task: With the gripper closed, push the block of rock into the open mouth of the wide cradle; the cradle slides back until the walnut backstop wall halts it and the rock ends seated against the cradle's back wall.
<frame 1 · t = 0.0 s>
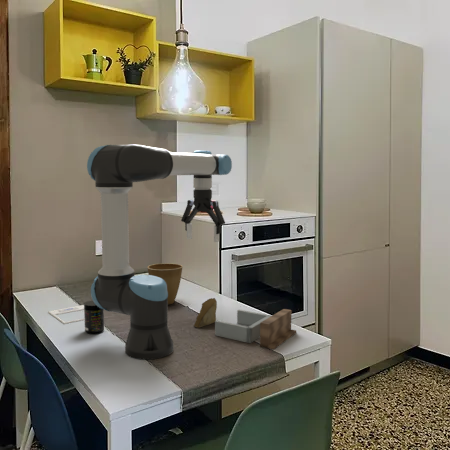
hand: (202, 240, 195), 28 cm above the table, tool pointing down, fingers open, 13 cm apart
supplement container: (94, 332, 167), on the table
plant pot: (165, 302, 204), on the table
photo frame: (74, 316, 186), on the table
backstop wall: (276, 338, 161), on the table
rock: (204, 324, 176), on the table
cradle: (244, 325, 167), point 3 cm above the table, slide at 0.0 cm
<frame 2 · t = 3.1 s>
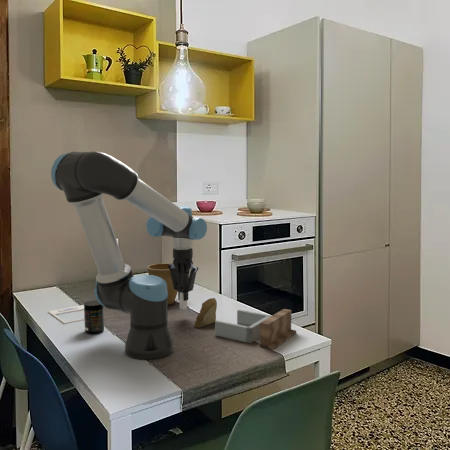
hand: (183, 308, 181), 4 cm above the table, tool pointing down, fingers closed
nothing on the table moved.
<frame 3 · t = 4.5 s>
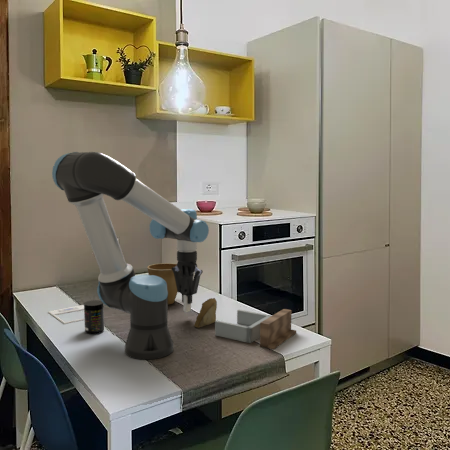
hand: (187, 311, 180), 3 cm above the table, tool pointing down, fingers closed
nothing on the table moved.
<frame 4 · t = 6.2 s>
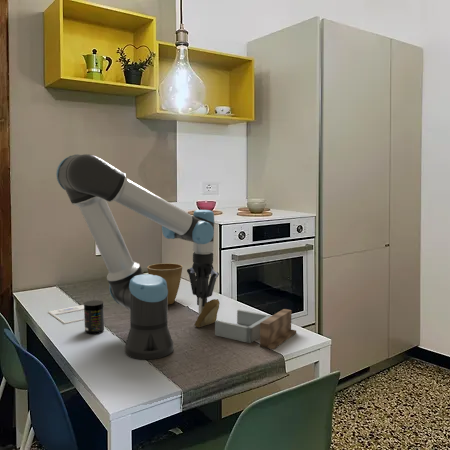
hand: (201, 314, 176), 3 cm above the table, tool pointing down, fingers closed
rock: (204, 323, 176), on the table, touching gripper
everything else where it was.
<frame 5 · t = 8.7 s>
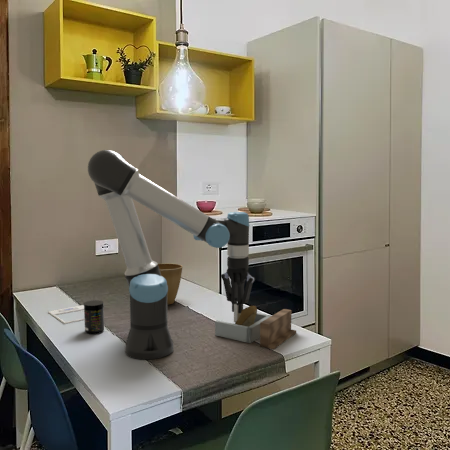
hand: (237, 321, 168), 3 cm above the table, tool pointing down, fingers closed
rock: (241, 330, 168), on the table, touching gripper
everything else where it was.
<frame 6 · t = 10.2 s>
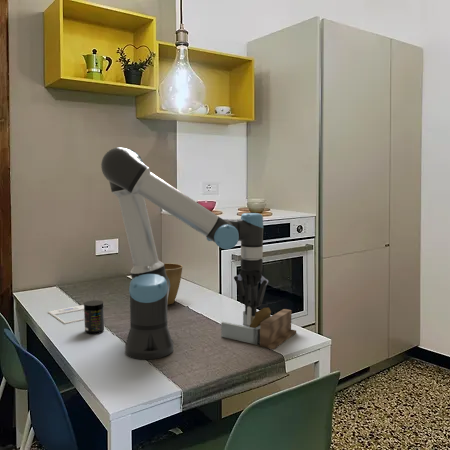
hand: (250, 324, 165), 3 cm above the table, tool pointing down, fingers closed
rock: (254, 333, 165), on the table, touching cradle, gripper
cradle: (250, 326, 165), point 3 cm above the table, slide at 2.6 cm, touching rock
everything else where it was.
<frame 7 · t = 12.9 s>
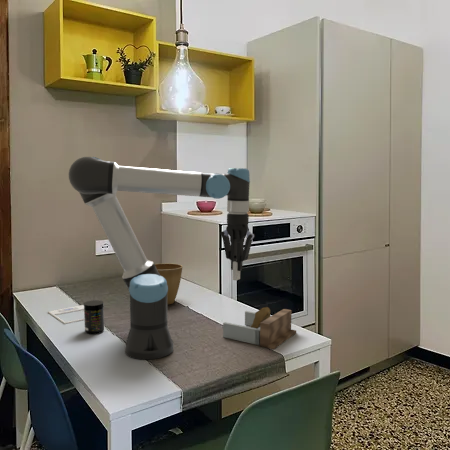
hand: (236, 279, 166), 19 cm above the table, tool pointing down, fingers closed
rock: (257, 335, 165), on the table
cradle: (252, 326, 165), point 3 cm above the table, slide at 3.3 cm
everything else where it was.
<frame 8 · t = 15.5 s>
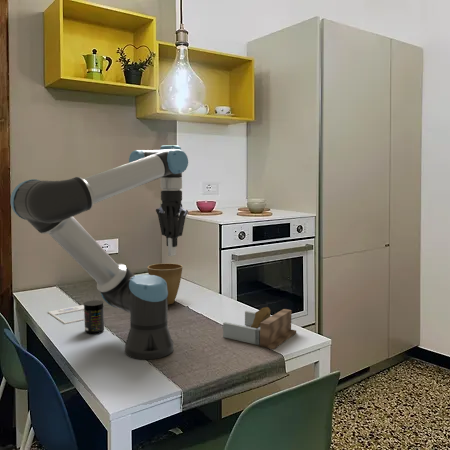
hand: (172, 255, 169), 26 cm above the table, tool pointing down, fingers closed
nothing on the table moved.
at the end: rock inside the target area on the cradle (1.5 cm from its centre), point 0.0 cm above the cradle's base; cradle slide at 3.3 cm; rock tilted 1° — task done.
